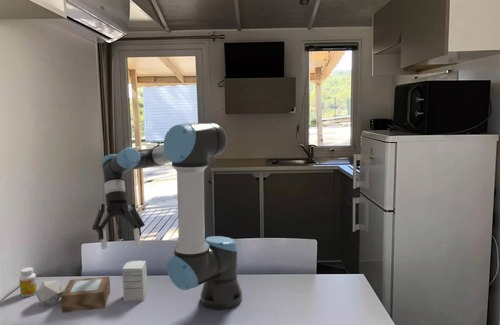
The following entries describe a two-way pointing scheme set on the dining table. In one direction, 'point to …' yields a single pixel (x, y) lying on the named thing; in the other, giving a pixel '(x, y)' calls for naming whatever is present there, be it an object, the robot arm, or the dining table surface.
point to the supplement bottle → (27, 282)
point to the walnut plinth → (85, 294)
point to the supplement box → (134, 280)
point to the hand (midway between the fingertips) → (121, 246)
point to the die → (49, 292)
